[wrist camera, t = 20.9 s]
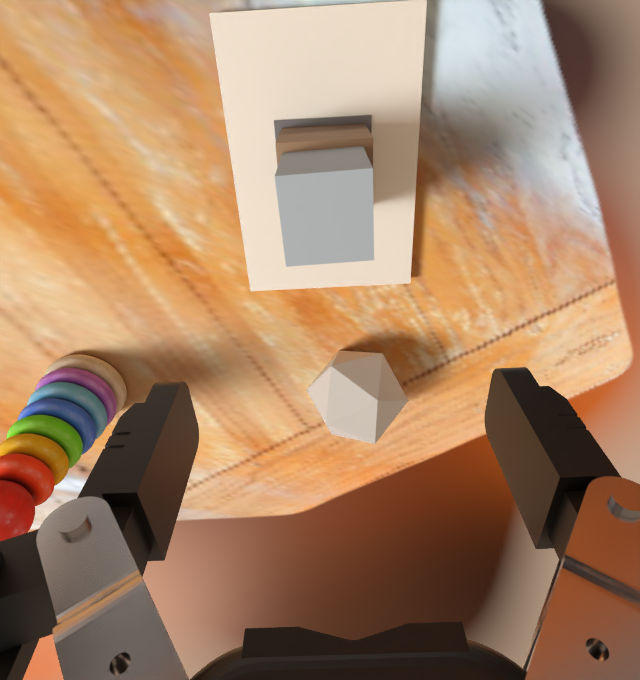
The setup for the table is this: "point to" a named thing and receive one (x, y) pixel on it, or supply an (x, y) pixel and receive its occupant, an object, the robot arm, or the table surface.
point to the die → (357, 395)
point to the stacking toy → (54, 434)
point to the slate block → (326, 206)
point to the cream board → (323, 121)
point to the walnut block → (324, 138)
